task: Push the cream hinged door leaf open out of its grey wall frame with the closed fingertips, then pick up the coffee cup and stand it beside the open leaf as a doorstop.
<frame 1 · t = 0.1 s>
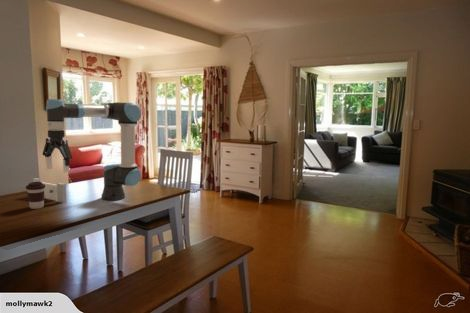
hand: (57, 170, 170), 28 cm above the table, fingers open, 13 cm apart
door: (47, 190, 214), point 5 cm above the table, hinge at 0.0°
wall frame: (49, 198, 215), on the table
coffee cup: (36, 207, 197), on the table
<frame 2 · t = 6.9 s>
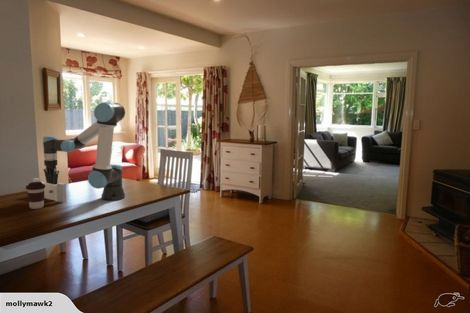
hand: (52, 194, 216), 3 cm above the table, fingers closed
door: (47, 190, 214), point 5 cm above the table, hinge at -1.1°, touching gripper
everything else where it was.
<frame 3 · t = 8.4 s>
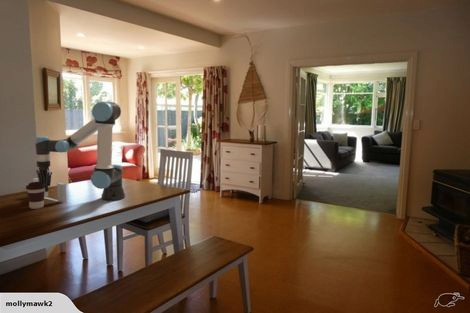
hand: (45, 196, 212), 2 cm above the table, fingers closed
door: (36, 191, 210), point 5 cm above the table, hinge at -44.6°, touching hand
everything else where it was.
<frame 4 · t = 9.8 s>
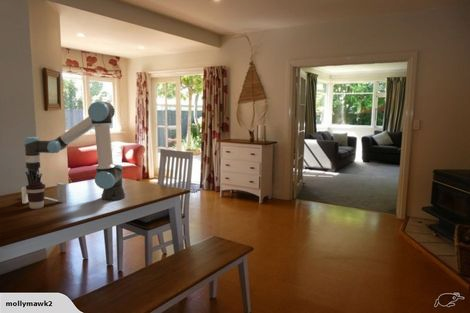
hand: (35, 198, 206), 2 cm above the table, fingers closed
door: (31, 191, 210), point 5 cm above the table, hinge at -67.9°, touching hand
everything else where it was.
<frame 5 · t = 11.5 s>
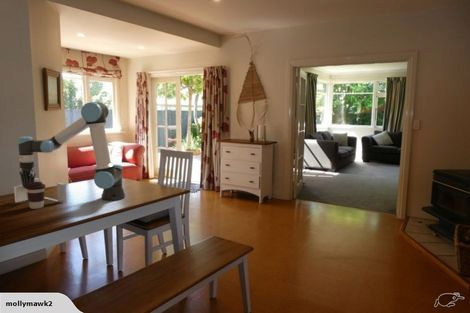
hand: (28, 198, 206), 2 cm above the table, fingers closed
door: (28, 191, 211), point 5 cm above the table, hinge at -88.8°, touching hand
everything else where it was.
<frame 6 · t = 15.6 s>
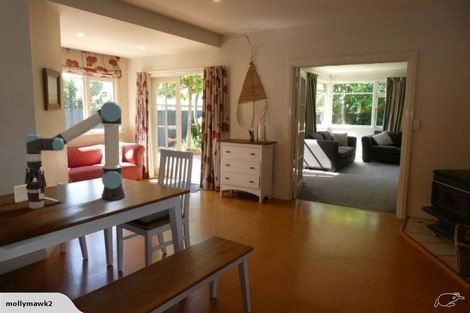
hand: (36, 197, 196), 6 cm above the table, fingers closed on coffee cup, 10 cm apart
door: (28, 191, 211), point 5 cm above the table, hinge at -88.8°
coffee cup: (36, 207, 197), on the table, touching gripper
when the fingers open (8 cm above the table, at t = 21.0 s): coffee cup drops 1 cm, on the table.
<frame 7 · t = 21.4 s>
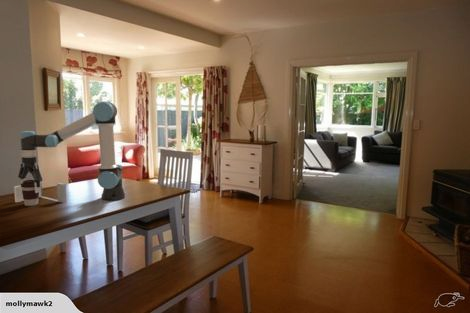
hand: (30, 190, 200), 9 cm above the table, fingers open, 13 cm apart
coffee cup: (31, 204, 202), on the table
everything else where it was.
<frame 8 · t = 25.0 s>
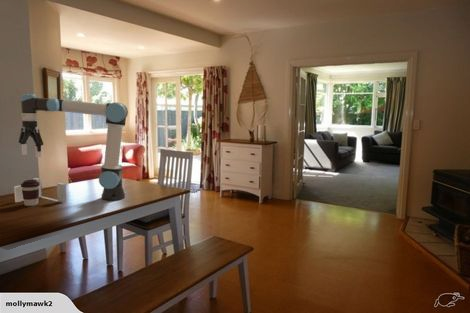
hand: (31, 155, 196), 31 cm above the table, fingers open, 13 cm apart
nothing on the table moved.
at the end: door at -89° (first picture: +0°); coffee cup inside the target area (0.9 cm from its centre), on the table; coffee cup tilted 0° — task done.
